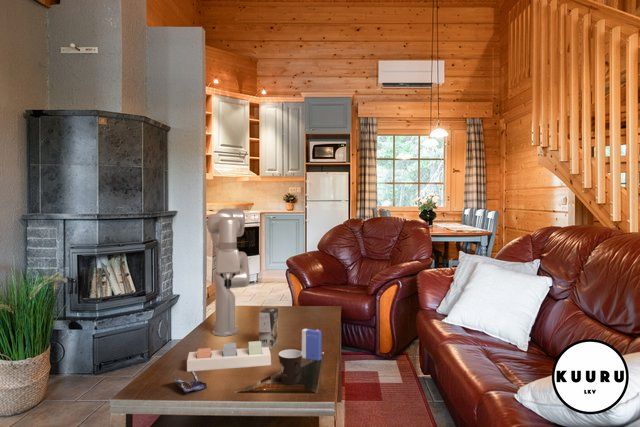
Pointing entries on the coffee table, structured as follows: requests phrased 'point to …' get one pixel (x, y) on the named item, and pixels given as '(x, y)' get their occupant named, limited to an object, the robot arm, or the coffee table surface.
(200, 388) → the snack package
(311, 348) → the walkman
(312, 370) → the coffee table surface
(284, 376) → the coffee mug
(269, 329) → the coffee box
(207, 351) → the terracotta button
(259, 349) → the sage-green button
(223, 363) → the button console
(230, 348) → the slate-grey button
